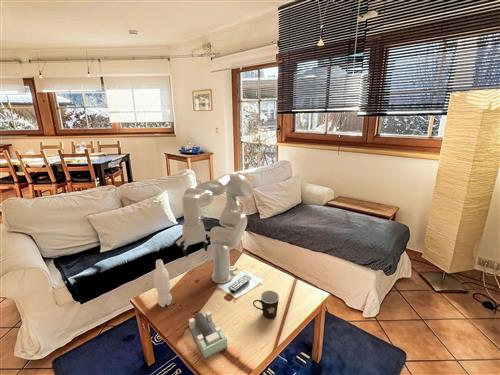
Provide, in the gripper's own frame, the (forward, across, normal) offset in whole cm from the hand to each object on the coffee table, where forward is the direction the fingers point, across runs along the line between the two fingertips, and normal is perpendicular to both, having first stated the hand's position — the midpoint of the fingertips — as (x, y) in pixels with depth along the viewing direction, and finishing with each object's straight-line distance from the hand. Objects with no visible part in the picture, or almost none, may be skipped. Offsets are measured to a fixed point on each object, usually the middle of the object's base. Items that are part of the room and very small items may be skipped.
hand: (195, 252), depth 129 cm
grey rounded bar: (+27, +5, +20) cm, 35 cm away
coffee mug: (+28, -24, +25) cm, 45 cm away
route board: (+28, +6, +22) cm, 36 cm away
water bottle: (+28, +16, -8) cm, 34 cm away
